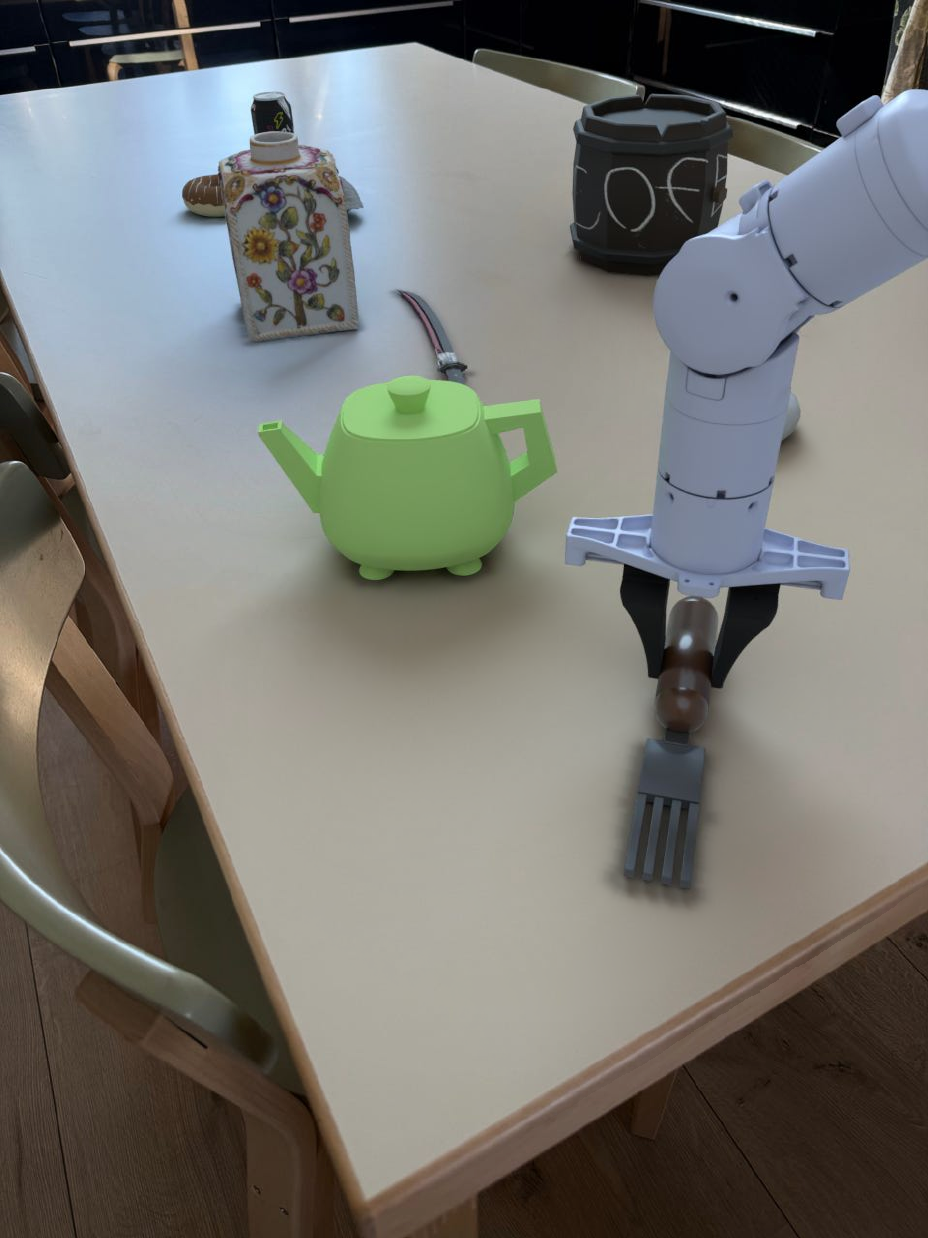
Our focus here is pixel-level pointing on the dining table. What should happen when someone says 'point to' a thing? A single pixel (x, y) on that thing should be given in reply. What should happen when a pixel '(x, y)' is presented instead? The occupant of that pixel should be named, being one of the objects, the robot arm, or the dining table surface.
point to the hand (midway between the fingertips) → (685, 672)
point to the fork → (677, 738)
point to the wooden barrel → (647, 179)
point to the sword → (448, 357)
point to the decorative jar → (289, 238)
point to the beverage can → (271, 113)
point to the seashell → (351, 195)
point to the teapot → (416, 474)
